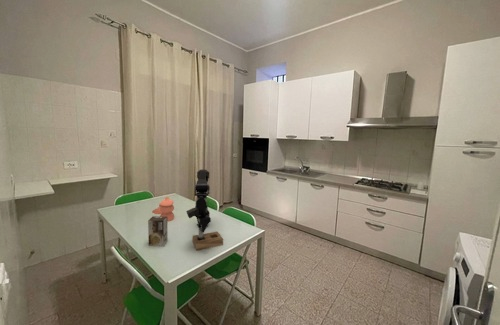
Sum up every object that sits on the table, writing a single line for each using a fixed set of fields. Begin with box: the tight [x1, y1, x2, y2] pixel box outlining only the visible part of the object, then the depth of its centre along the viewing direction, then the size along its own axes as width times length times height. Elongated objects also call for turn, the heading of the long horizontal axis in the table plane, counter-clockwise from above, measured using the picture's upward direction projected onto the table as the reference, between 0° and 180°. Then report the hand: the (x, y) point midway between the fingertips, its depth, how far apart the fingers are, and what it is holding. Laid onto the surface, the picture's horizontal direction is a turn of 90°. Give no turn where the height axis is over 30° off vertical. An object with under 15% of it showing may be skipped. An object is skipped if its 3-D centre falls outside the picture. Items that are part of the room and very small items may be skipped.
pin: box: [198, 227, 205, 241], centre depth 121 cm, size 3×3×9 cm
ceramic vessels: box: [151, 196, 175, 222], centre depth 163 cm, size 35×21×19 cm, turn 37°
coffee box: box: [147, 215, 169, 247], centre depth 120 cm, size 9×6×16 cm
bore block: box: [191, 231, 224, 251], centre depth 124 cm, size 11×16×4 cm
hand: (201, 228), depth 121 cm, fingers open, 9 cm apart
